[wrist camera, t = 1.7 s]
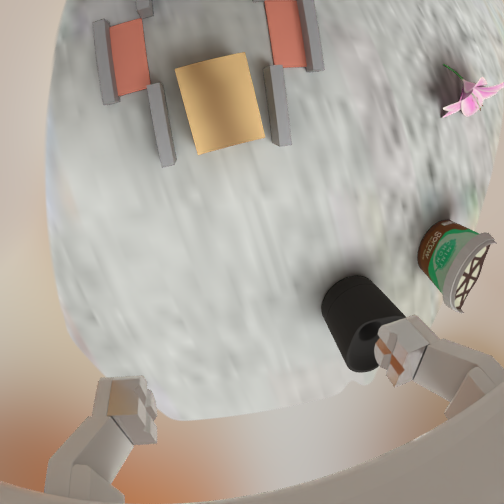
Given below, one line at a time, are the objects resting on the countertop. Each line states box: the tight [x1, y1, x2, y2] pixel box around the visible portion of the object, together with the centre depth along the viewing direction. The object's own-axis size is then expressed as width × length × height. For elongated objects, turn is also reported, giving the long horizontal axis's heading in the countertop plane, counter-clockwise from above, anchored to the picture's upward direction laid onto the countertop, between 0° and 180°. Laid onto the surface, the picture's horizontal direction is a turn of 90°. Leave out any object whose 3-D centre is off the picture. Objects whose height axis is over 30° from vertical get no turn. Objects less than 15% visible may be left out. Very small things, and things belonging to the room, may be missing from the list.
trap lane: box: [93, 0, 325, 168], centre depth 21 cm, size 22×26×5 cm
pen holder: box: [322, 276, 406, 372], centre depth 37 cm, size 9×9×10 cm
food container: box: [418, 220, 496, 313], centre depth 36 cm, size 12×6×10 cm, turn 169°
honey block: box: [175, 52, 265, 155], centre depth 25 cm, size 6×8×5 cm
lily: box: [442, 64, 504, 118], centre depth 26 cm, size 12×12×10 cm
